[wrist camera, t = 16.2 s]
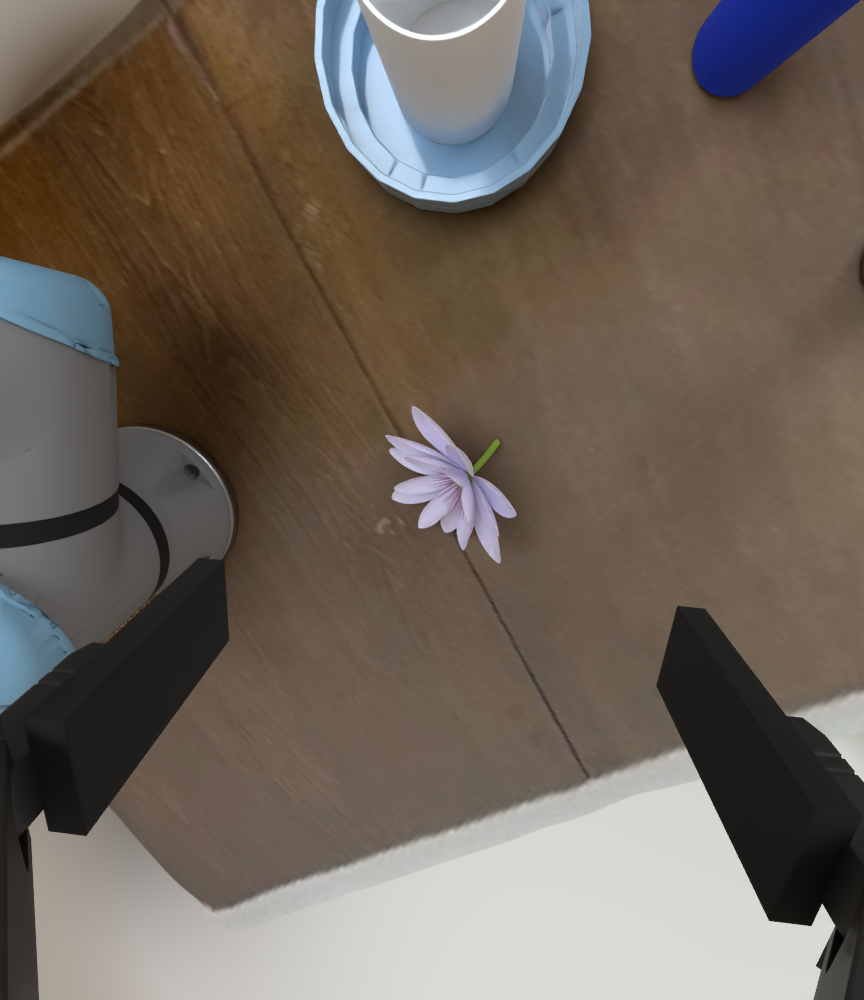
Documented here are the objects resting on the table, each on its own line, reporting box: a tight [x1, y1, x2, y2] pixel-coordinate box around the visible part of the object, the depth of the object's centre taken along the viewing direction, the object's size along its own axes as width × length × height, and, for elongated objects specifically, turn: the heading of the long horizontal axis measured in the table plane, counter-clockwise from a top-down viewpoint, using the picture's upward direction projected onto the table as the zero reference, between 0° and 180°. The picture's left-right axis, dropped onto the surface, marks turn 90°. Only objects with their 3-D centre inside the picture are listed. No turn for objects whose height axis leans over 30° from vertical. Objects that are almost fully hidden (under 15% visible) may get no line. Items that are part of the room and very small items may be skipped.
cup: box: [358, 0, 526, 145], centre depth 29 cm, size 8×8×16 cm
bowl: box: [314, 0, 591, 213], centre depth 35 cm, size 17×17×5 cm
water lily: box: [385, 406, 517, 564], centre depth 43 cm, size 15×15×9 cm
